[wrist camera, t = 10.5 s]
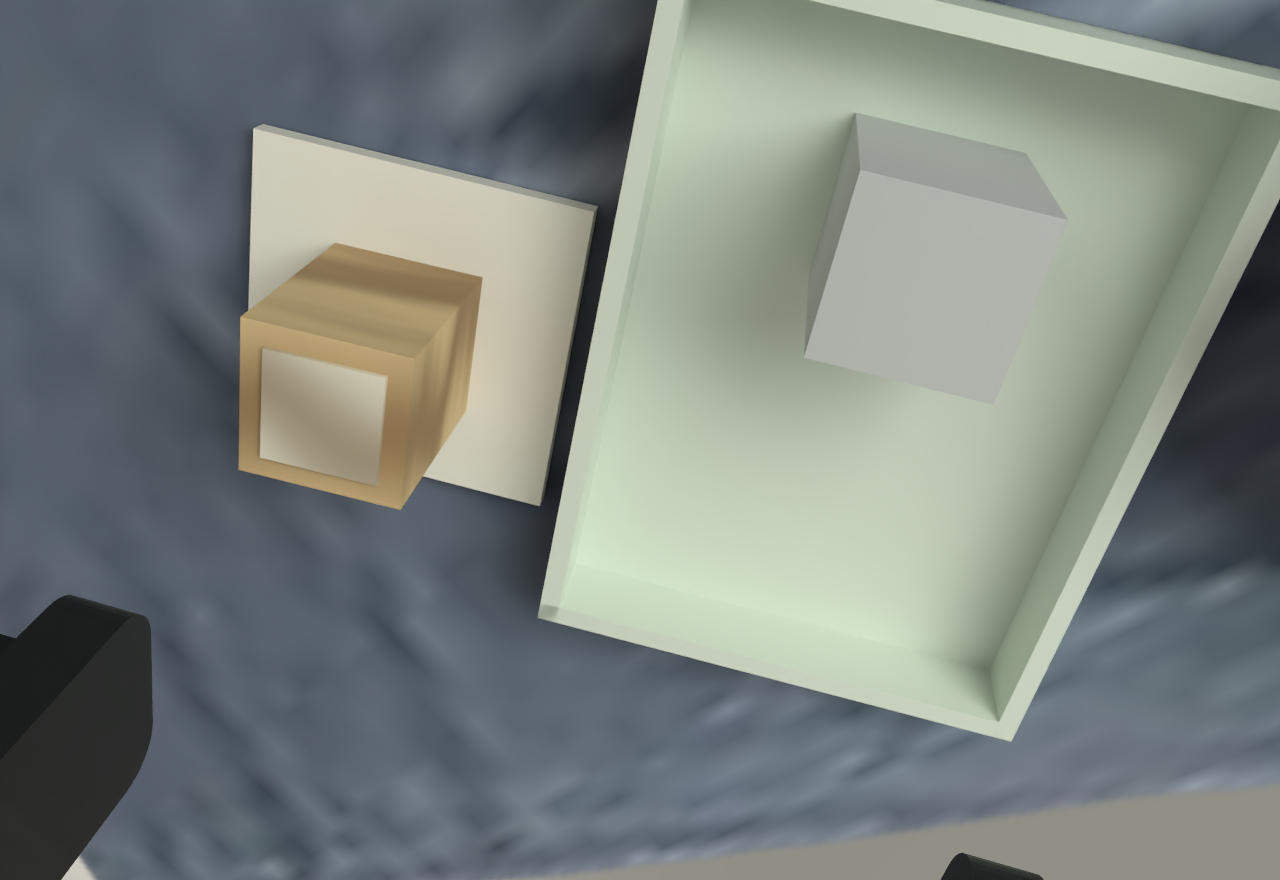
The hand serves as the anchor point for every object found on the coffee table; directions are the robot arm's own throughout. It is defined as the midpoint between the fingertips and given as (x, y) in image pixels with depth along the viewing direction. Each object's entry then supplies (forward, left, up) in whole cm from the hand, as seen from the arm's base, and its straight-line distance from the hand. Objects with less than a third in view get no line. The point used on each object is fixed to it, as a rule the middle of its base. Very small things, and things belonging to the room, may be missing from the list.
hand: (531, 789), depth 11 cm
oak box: (+7, -9, -22) cm, 25 cm away
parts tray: (+4, +5, -23) cm, 24 cm away
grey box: (0, +5, -22) cm, 23 cm away
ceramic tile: (+7, -8, -23) cm, 25 cm away
